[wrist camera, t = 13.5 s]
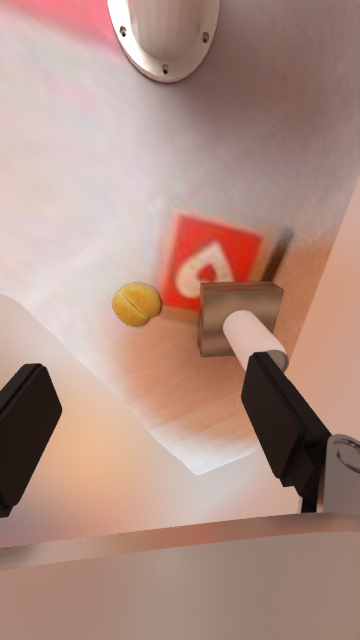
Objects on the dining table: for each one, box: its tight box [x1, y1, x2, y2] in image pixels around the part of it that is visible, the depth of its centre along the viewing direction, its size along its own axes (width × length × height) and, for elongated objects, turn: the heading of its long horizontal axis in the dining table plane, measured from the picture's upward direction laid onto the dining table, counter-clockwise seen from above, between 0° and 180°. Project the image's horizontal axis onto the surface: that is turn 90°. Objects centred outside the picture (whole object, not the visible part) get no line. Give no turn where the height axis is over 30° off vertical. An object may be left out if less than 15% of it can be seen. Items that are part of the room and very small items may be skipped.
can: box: [223, 310, 289, 373], centre depth 33 cm, size 6×6×12 cm
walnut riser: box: [197, 281, 284, 357], centre depth 41 cm, size 14×14×5 cm
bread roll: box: [112, 282, 161, 327], centre depth 38 cm, size 8×9×4 cm
